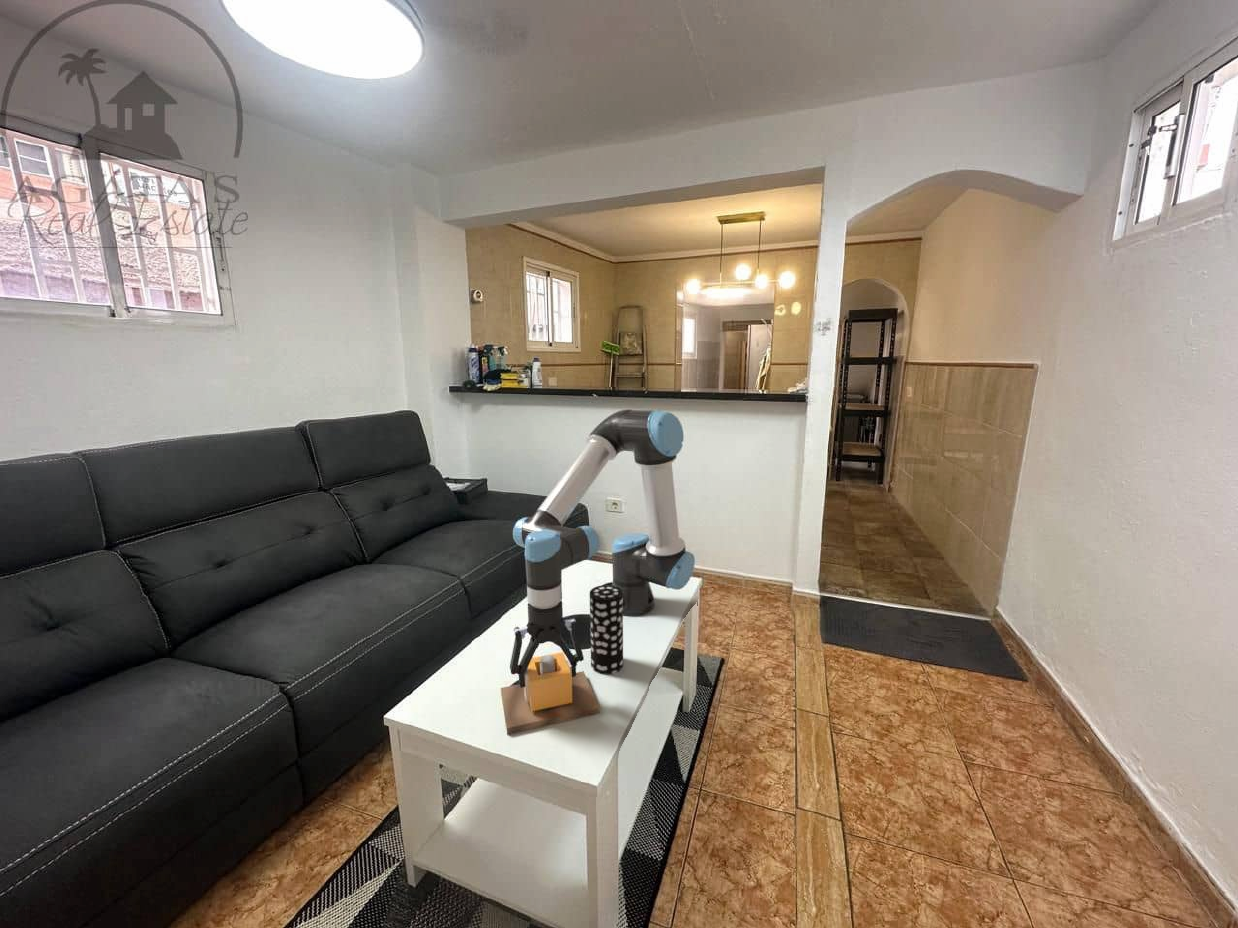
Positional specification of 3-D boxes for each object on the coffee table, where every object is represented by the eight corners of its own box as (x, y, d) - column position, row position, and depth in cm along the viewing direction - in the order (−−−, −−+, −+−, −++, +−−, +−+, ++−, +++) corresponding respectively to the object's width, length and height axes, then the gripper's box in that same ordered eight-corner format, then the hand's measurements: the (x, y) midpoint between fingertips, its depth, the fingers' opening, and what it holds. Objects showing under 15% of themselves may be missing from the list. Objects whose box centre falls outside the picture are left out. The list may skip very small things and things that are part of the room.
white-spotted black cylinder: (599, 677, 120) (598, 602, 117) (585, 660, 128) (584, 589, 124) (628, 668, 124) (628, 595, 121) (614, 652, 131) (613, 582, 128)
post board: (583, 676, 121) (582, 635, 119) (599, 713, 108) (598, 668, 106) (501, 693, 115) (498, 650, 113) (507, 734, 102) (504, 687, 100)
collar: (563, 678, 117) (562, 652, 115) (572, 702, 108) (571, 673, 107) (525, 686, 114) (524, 659, 112) (531, 711, 105) (530, 682, 104)
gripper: (588, 587, 114) (590, 674, 118) (492, 601, 107) (498, 693, 111) (597, 601, 107) (598, 693, 111) (495, 617, 100) (501, 714, 104)
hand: (548, 693), depth 111 cm, fingers closed on collar, 9 cm apart
